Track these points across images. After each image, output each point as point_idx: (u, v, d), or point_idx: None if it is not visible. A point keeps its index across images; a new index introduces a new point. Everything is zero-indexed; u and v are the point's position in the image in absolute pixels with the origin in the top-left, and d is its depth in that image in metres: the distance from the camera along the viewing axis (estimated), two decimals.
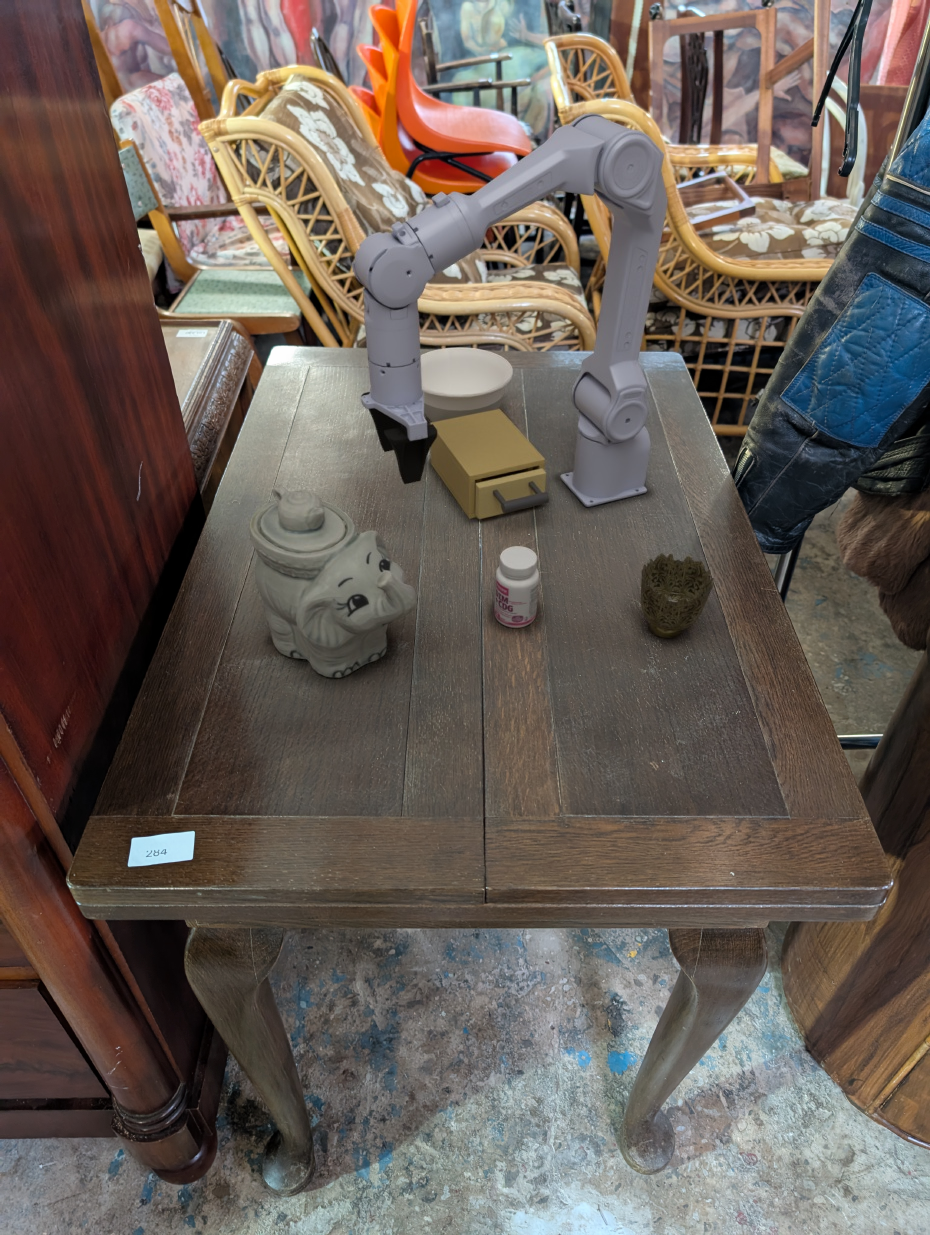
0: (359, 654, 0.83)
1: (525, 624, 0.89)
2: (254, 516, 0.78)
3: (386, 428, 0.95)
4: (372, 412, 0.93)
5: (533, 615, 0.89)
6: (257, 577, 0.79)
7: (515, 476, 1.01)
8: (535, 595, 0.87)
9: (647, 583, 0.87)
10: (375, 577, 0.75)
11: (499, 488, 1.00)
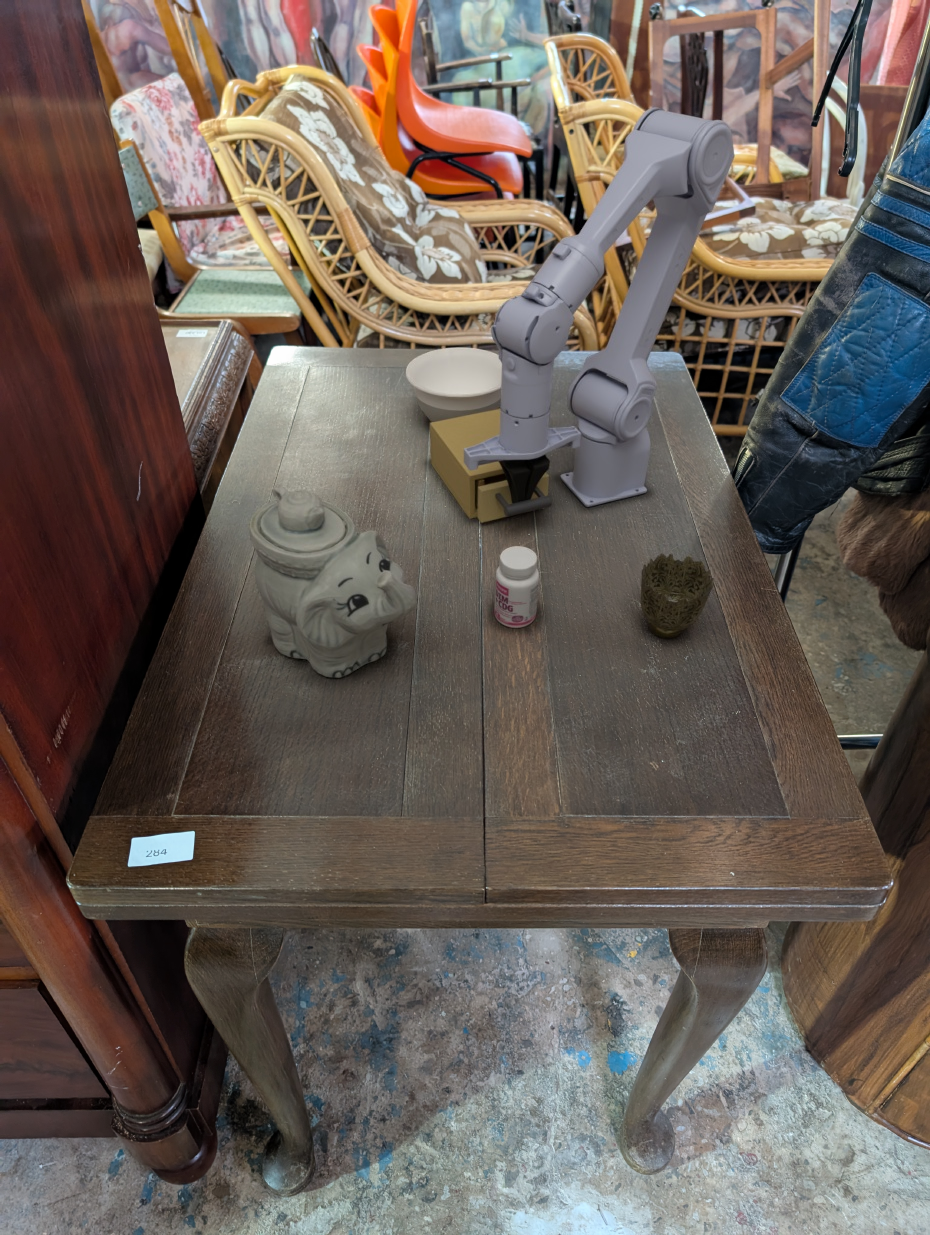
0: (359, 654, 0.83)
1: (525, 624, 0.89)
2: (254, 516, 0.78)
3: None
4: None
5: (533, 615, 0.89)
6: (257, 577, 0.79)
7: None
8: (535, 595, 0.87)
9: (647, 583, 0.87)
10: (375, 577, 0.75)
11: (502, 491, 1.00)
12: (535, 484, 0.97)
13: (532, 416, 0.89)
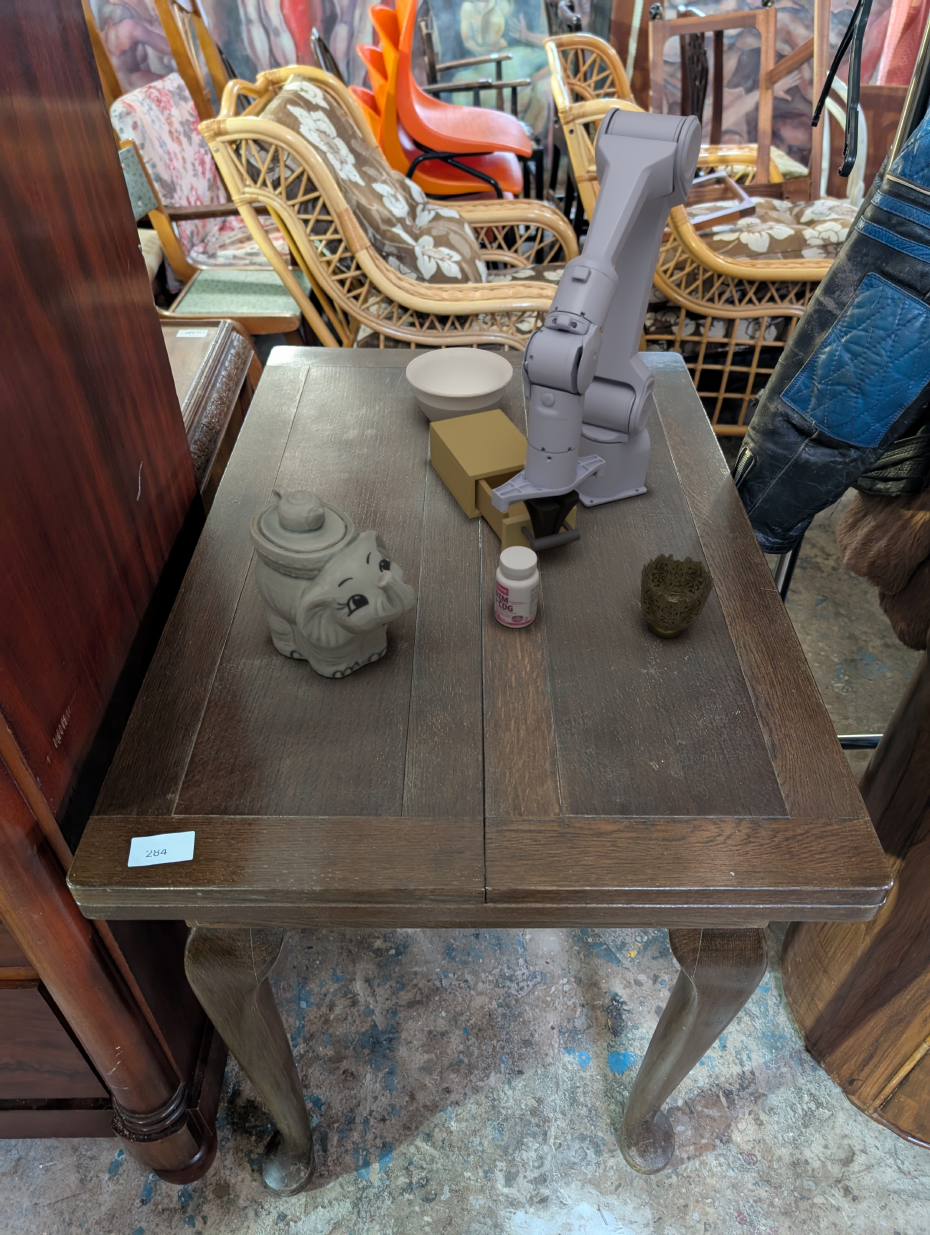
0: (359, 654, 0.83)
1: (525, 624, 0.89)
2: (254, 516, 0.78)
3: None
4: None
5: (533, 615, 0.89)
6: (257, 577, 0.79)
7: None
8: (535, 595, 0.87)
9: (647, 583, 0.87)
10: (375, 577, 0.75)
11: (527, 524, 0.95)
12: (563, 518, 0.92)
13: (565, 450, 0.84)
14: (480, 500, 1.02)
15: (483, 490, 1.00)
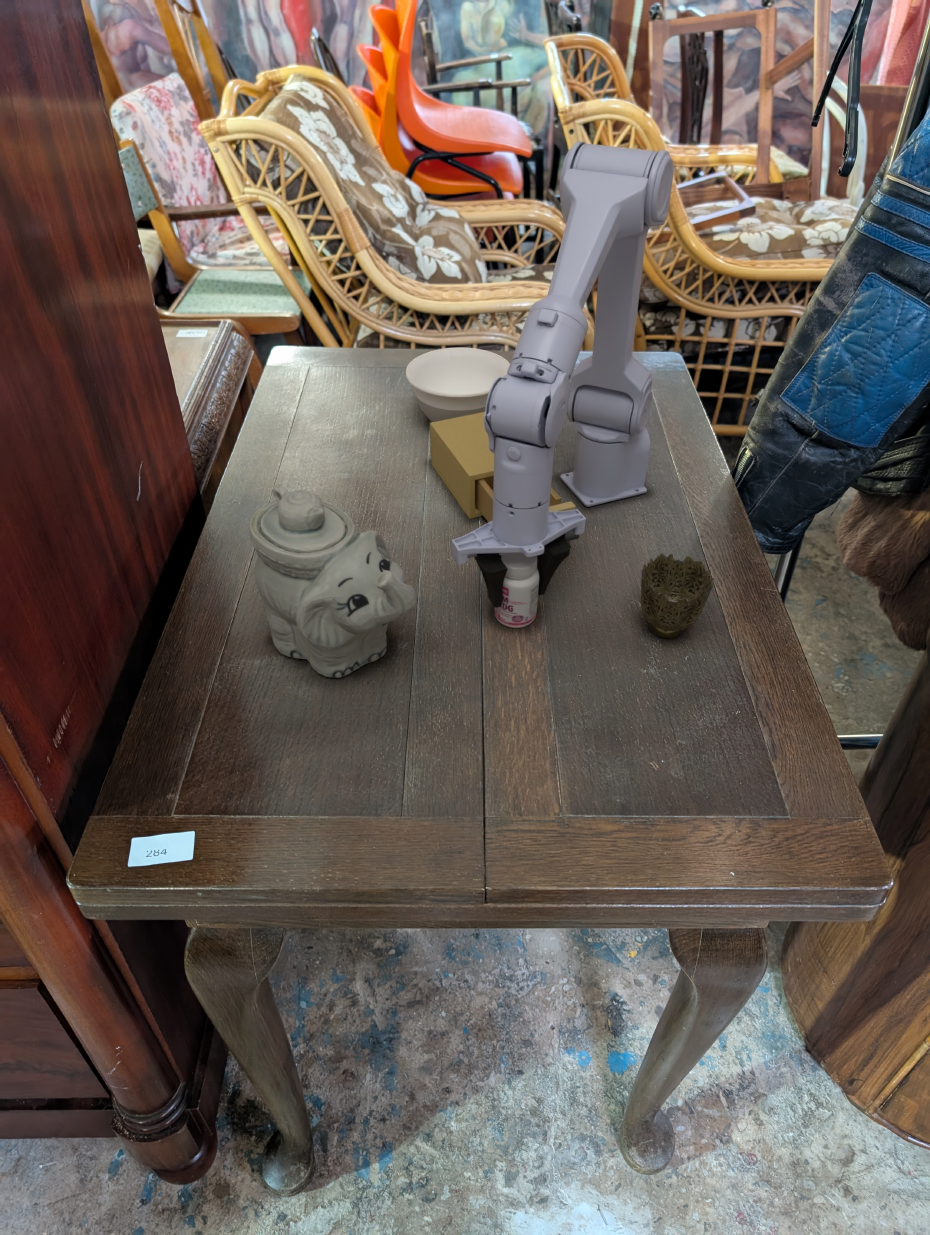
0: (359, 654, 0.83)
1: (525, 624, 0.89)
2: (254, 516, 0.78)
3: None
4: (504, 574, 0.83)
5: (533, 615, 0.89)
6: (257, 577, 0.79)
7: None
8: (535, 595, 0.87)
9: (647, 583, 0.87)
10: (375, 577, 0.75)
11: None
12: None
13: None
14: (479, 498, 1.02)
15: (482, 489, 1.00)
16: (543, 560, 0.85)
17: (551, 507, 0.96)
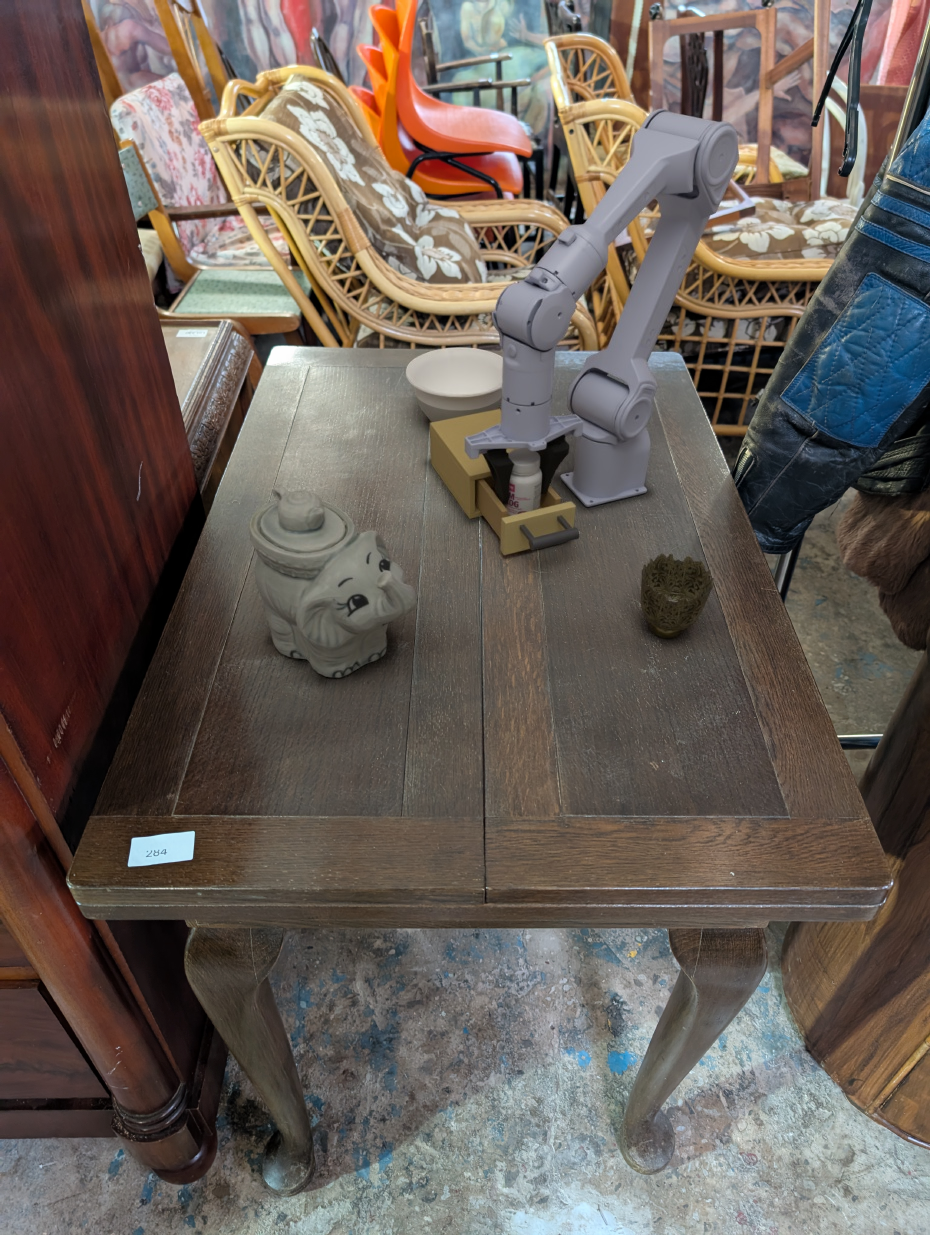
0: (359, 654, 0.83)
1: None
2: (254, 516, 0.78)
3: None
4: None
5: None
6: (257, 577, 0.79)
7: (543, 510, 0.96)
8: (538, 492, 0.98)
9: (647, 583, 0.87)
10: (375, 577, 0.75)
11: (526, 523, 0.95)
12: None
13: None
14: (479, 498, 1.02)
15: (482, 489, 1.00)
16: (545, 460, 0.96)
17: (551, 507, 0.96)
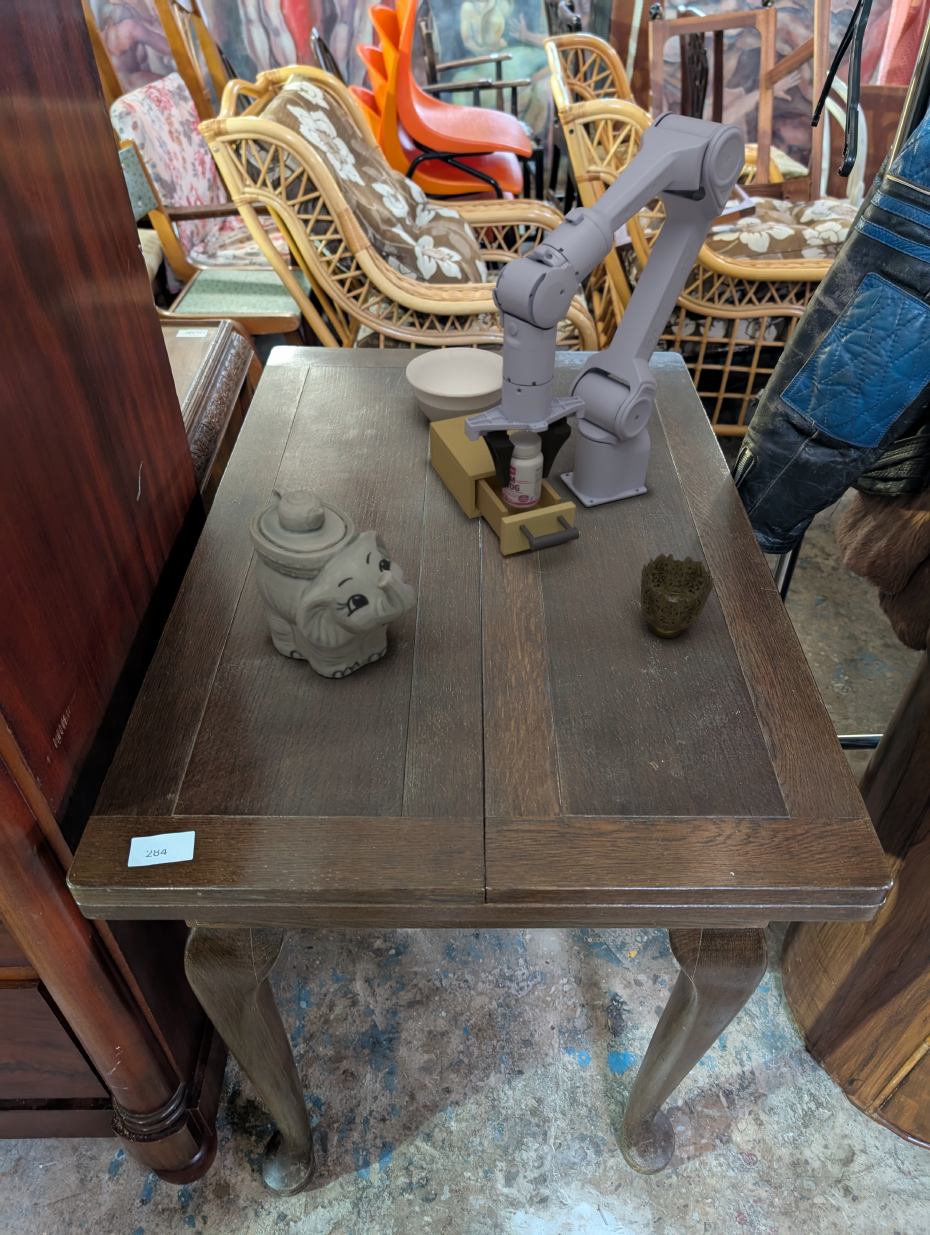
0: (359, 654, 0.83)
1: (530, 504, 0.98)
2: (254, 516, 0.78)
3: None
4: None
5: (537, 496, 0.98)
6: (257, 577, 0.79)
7: (543, 510, 0.96)
8: (539, 476, 0.96)
9: (647, 583, 0.87)
10: (375, 577, 0.75)
11: (526, 523, 0.95)
12: None
13: None
14: (479, 498, 1.02)
15: (482, 489, 1.00)
16: (547, 442, 0.94)
17: (551, 507, 0.96)
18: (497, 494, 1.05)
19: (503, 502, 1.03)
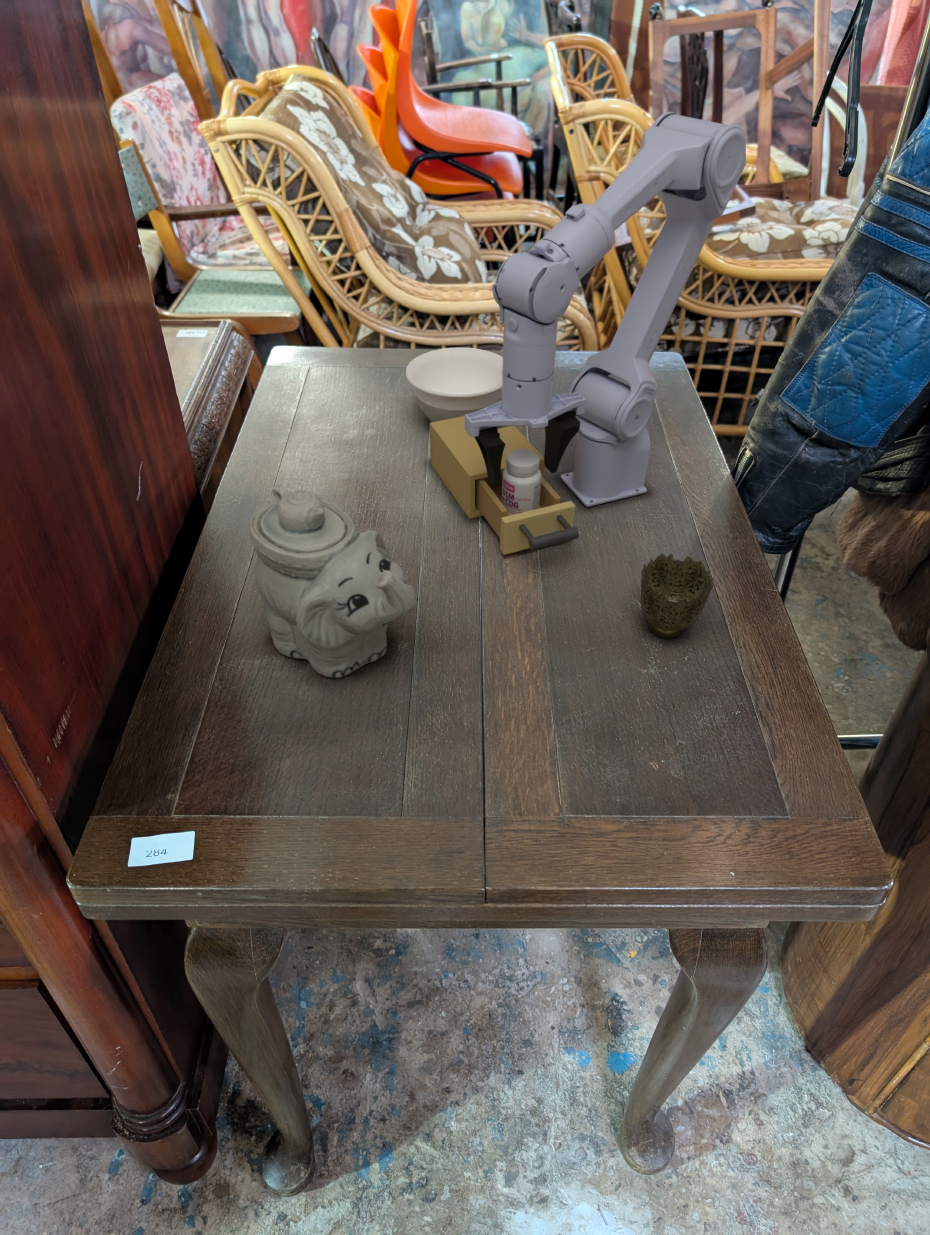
0: (359, 654, 0.83)
1: None
2: (254, 516, 0.78)
3: None
4: (502, 450, 0.91)
5: None
6: (257, 577, 0.79)
7: (543, 509, 0.96)
8: (538, 493, 0.98)
9: (647, 583, 0.87)
10: (375, 577, 0.75)
11: (526, 522, 0.95)
12: None
13: None
14: (479, 498, 1.02)
15: (482, 489, 1.00)
16: (555, 437, 0.94)
17: (551, 507, 0.96)
18: (497, 494, 1.05)
19: None
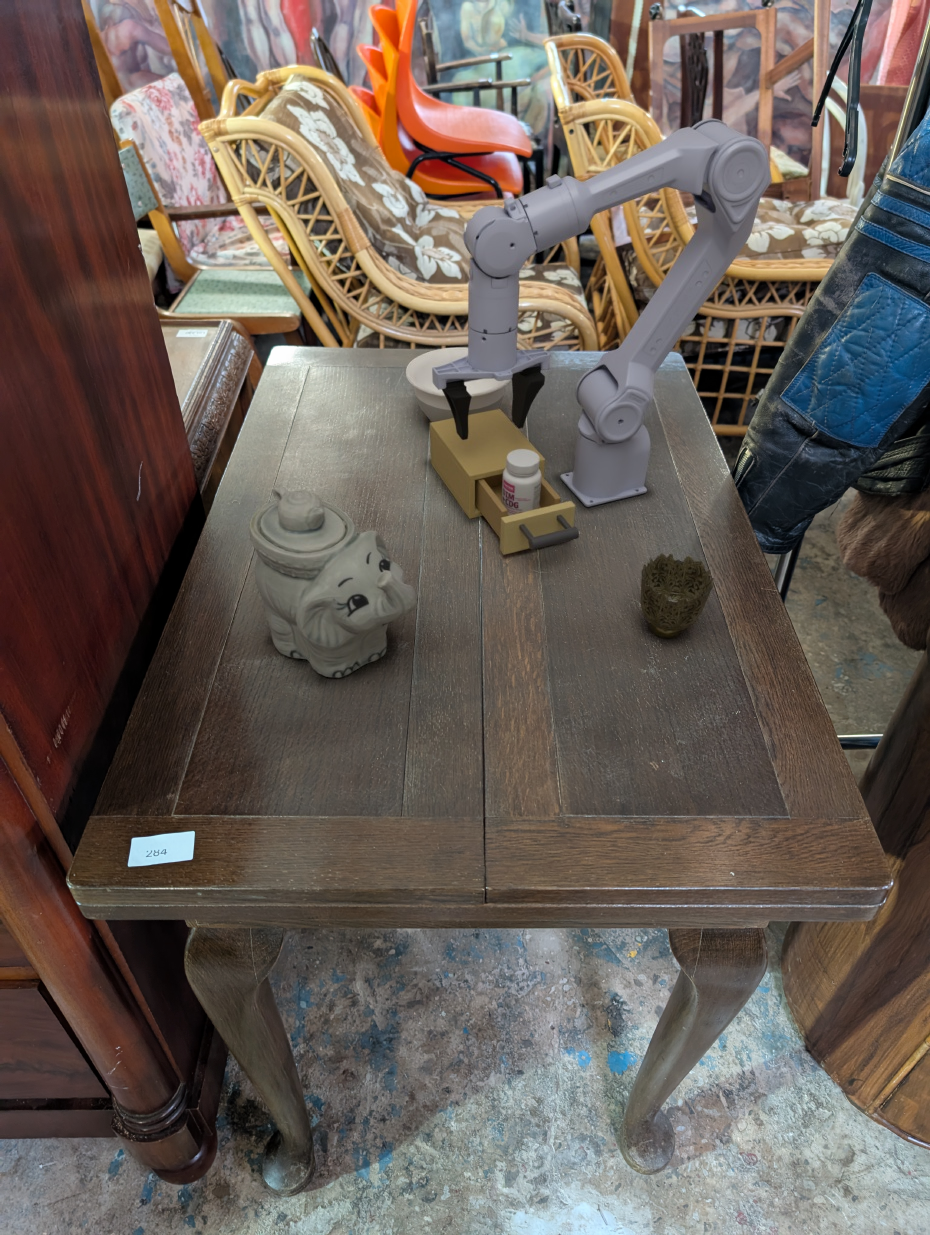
0: (359, 654, 0.83)
1: None
2: (254, 516, 0.78)
3: None
4: None
5: None
6: (257, 577, 0.79)
7: (543, 509, 0.96)
8: (538, 493, 0.98)
9: (647, 583, 0.87)
10: (375, 577, 0.75)
11: (526, 522, 0.95)
12: None
13: None
14: (479, 498, 1.02)
15: (482, 489, 1.00)
16: (521, 391, 0.97)
17: (551, 507, 0.96)
18: (497, 494, 1.05)
19: None
